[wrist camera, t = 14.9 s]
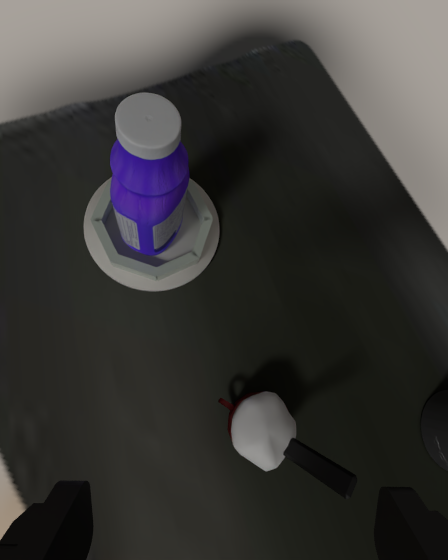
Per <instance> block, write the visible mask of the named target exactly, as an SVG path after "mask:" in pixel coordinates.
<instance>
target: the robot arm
mask: <svg viewBox="0 0 448 560" xmlns="http://www.w3.org/2000/svg"><path fill="white" fill-rule="evenodd" d="M421 432H422V437H423V441H424V444H425V446H426V449H427V451H428V453H429V454H430V456H431V457H432V458H433V460H434V461H435V462H436V463H437V464H438V465H439V466H441V467H442V468H444V469H445V470H447V471H448V390H442V391H439V392H437V393H436V394H434V395H433V396H432V397H431V398H430V399H429V400H428V402H427V403H426V405H425V407H424V409H423V413H422V417H421ZM92 536H93V515H92V503H91V492H90V484H89V482H88V481H59V482H57V483H56V485H55V486H54V488H53V489H52V491H51V492H50V494H49V496H48V497H47V499H46V500H45V502H44V503H33V504H32V505H31V506H30V507H29V508H28V509H27V510H26V511H24V512H23V513H22V514H21V515H20V516H19V517H18V518H17V519H16V520H14V521H13V523H12V524H11V525H10V527H9V529H8V530H7V531H6V533H5V534H4V536H3V537H2V539H1V540H0V560H86V558H87V555H88V553H89V550H90V546H91V542H92ZM374 541H375V547H376V551H377V555H378V558H379V560H448V520H447V519H446V518H445V517H444V516H443V515H441V514H440V513H439V512H438V511H429V510H428V509H427V507H426V506H425V504H424V503H423V501H422V500H421V499H420V497H419V496H418V494H417V493H416V491H415V490H414V489H412V488H410V487H381V489H380V491H379V497H378V504H377V512H376V519H375V526H374Z"/></svg>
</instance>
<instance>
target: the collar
mask: <svg viewBox="0 0 448 560" xmlns="http://www.w3.org/2000/svg"><path fill="white" fill-rule="evenodd" d="M111 180H112V177H111V178H110V179H109V180H107V181H106V182H105V183H104V184H103V185H102V186H100V187H99V188H98V190H97V191H96V192H95V194H94V195H93V197H92V198H91V200H90V202H89V204H88V207H87V209H86V213H85V218H84V236H85V240H86V244H87V247H88V249H89V252H90V254H91V255H92V257H93V259H94V261H95V262H96V263H97V265H98V266H99V267H100V268H101V269H102V270H103V271H104V272H105V273H106V274H107V275H108V276H109V277H111V278H112V279H113V280H115V281H117V282H119V283H120V284H122V285H125V286H127V287H129V288H133V289H137V290H141V291H152V292H158V291H167V290H171V289H175V288H177V287H180V286H183V285H185V284H186V283H188V282H190V281H192V280H193V279H194V278H196V277H197V276H198V275H199V274H200V273H201V272H203V271H204V269H205V268H206V267H207V266H208V264H209V263H210V261H211V259H212V258H213V256H214V253H215V251H216V249H217V245H218V241H219V233H220V232H219V220H218V215H217V212H216V209H215V207H214V205H213V203H212V201H211V199H210V198H209V196H208V195H207V194H206V192H205V191H204V190H203V189H202V188H201V187H200V186H199V185H198V184H197V183H196V182H194V181H193V180H192V179H190V178H189V183H188V187H187V192H186V198H185V205H184V211H183V219H182V223H181V226H180V229H179V231H178V233H177V235H176V237H175V238H174V240H173V241H172V243H171V244H170V245H169V247H168V248H167V249H166V250H165V251H163V252H162V253H160V254H158V255H155V256H149V255H144V254H142V253H139V252H137V251H135V250H133V249H131V248H130V247H129V246H128V245H127V244H126V243H125V242H124V241H123V239H122V237H121V233H120V229H119V226H118V223H117V219H116V215H115V212H114V208H113V205H112V201H111V197H110V187H111Z"/></svg>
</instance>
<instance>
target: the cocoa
mask: <svg viewBox="0 0 448 560" xmlns="http://www.w3.org/2000/svg"><path fill="white" fill-rule="evenodd" d="M218 402H219V403H221V404H222V405H224V406H225V407H227V408H228V409H229V410H230V413H229V419H228V432H229V435H230V438H231V441H232V444H233V446H234V447H235V449H236V450H237V451H238V452H239V453H240V455H242V456H243V457H244V458H246V459H248V460H249V461H251V462H252V463H254V464H255V465H257V466H258V467H260V468H261V469H263V470H265V471H269V470H272V469H275V468H277V467H278V466H279V464H280V463H281V462H282V460H283V459H284V458H285V457H287V458H288V459H290V460H291V461H293V462H294V463H296V464H297V465H298V466H300V467H301V468H303V469H304V470H305V471H307V472H308V473H310V474H311V475H313V476H314V477H315V478H317V479H318V480H320V481H321V482H323V483H324V484H325V485H327V486H328V487H330V488H331V489H332V490H334V491H335V492H337V493H338V494H340V495H341V496H342V497H344V498H345V499H348V498H350V497H351V495H352V492H353V490H354V488H355V485H356V483H357V477H356V475H355V474H353V473H351V472H350V471H348V470H346V469H345V468H343V467H341V466H340V465H338V464H336V463H335V462H333V461H331V460H330V459H328V458H326V457H325V456H323V455H321V454H320V453H318V452H316V451H315V450H313V449H311V448H310V447H308V446H306V445H305V444H303V443H301V442H300V441H298V440H296V439H295V438H296V422H295V421H294V419H293V418H292V416H291V415H290V413H289V412H288V409H287V407H286V406H285V404H284V402H283V401H282V400H281V399H280V398H279V396H278V395H277V394H276V393H272V392H267V391H265V392H261V391H260V392H254V393H247V394H246V395H244V396H243V397H241V398H240V399H239V400H237V401H236V402H235V404H234V405H233V404H231V403H229V402H227V401H225V400H224V399H222V398H220V399H219V401H218Z"/></svg>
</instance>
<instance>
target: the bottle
mask: <svg viewBox="0 0 448 560" xmlns="http://www.w3.org/2000/svg"><path fill="white" fill-rule="evenodd" d="M115 124H116V135H117V138H118V139H117V140H116V142H115V143H114V145H113V147H112V151H111V156H110V165H111V169H112V172H113V175H112V180H111V187H110V197H111V201H112V205H113V208H114V212H115V215H116V219H117V223H118V226H119V229H120V233H121V237H122V239H123V241H124V242H125V243H126V244H127V245H128V246H129V247H130V248H131V249H133V250H135V251H137V252H139V253H142V254H144V255H149V256H155V255H158V254H160V253H162V252H163V251H165V250H166V249H167V248H168V247H169V245H170V244H171V243H172V241H173V240H174V238H175V237H176V235H177V233H178V231H179V229H180V226H181V223H182V219H183V211H184V205H185V198H186V192H187V187H188V183H189V168H188V154H187V151H186V149H185V147H184V145H183V144H182V143H181V142H180V139H181V118H180V115H179V112H178V110H177V109H176V108H175V106H174V105H173V104H172V103H171V102H170V101H169V100H167V99H165V98H164V97H162V96H159V95H157V94H153V93H138V94H134V95H131V96H129V97H127V98H125V99H124V100H123V101H122V102H121V103H120V104H119V106H118V108H117V110H116V113H115Z"/></svg>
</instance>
